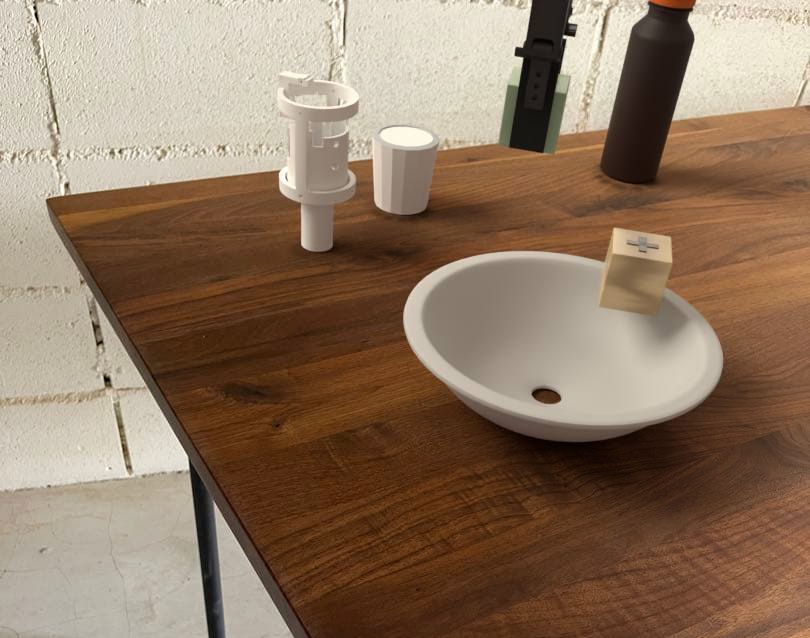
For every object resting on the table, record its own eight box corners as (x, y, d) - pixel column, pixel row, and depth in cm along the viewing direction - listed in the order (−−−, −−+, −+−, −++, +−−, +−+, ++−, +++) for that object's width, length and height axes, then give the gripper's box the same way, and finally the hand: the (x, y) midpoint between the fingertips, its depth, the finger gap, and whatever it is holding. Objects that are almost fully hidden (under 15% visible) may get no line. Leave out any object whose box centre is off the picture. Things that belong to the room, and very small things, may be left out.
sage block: (559, 134, 72) (571, 74, 69) (554, 154, 69) (566, 92, 66) (504, 125, 73) (514, 65, 69) (497, 145, 69) (507, 83, 66)
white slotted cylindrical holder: (300, 221, 89) (299, 60, 79) (364, 238, 88) (372, 76, 77) (267, 250, 85) (262, 82, 74) (334, 268, 83) (338, 100, 73)
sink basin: (552, 294, 83) (567, 227, 78) (758, 431, 70) (790, 360, 66) (338, 366, 72) (340, 292, 67) (536, 544, 59) (556, 469, 54)
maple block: (655, 289, 72) (671, 235, 68) (656, 317, 68) (673, 262, 65) (600, 279, 72) (613, 226, 69) (598, 307, 69) (612, 252, 66)
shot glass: (433, 219, 92) (440, 151, 87) (367, 215, 92) (371, 146, 87) (431, 191, 97) (438, 125, 92) (369, 186, 97) (372, 120, 92)
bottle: (602, 181, 103) (650, -17, 88) (595, 157, 107) (639, -34, 93) (660, 186, 103) (716, -10, 89) (651, 163, 108) (703, -27, 94)
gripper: (551, -268, 61) (498, 93, 77) (522, -256, 48) (466, 171, 65) (660, -255, 60) (583, 107, 76) (660, -239, 48) (568, 188, 64)
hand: (530, 136), depth 70 cm, fingers closed on sage block, 4 cm apart
